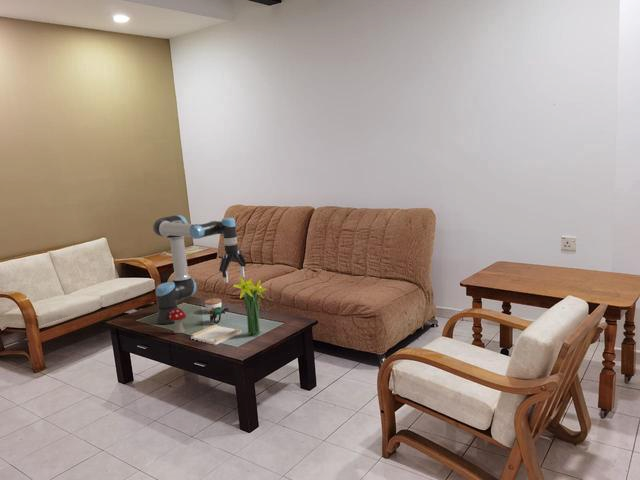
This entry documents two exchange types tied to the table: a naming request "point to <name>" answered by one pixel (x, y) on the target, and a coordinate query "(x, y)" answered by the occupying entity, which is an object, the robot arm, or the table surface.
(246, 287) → the daffodil flowers
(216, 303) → the lidded jar
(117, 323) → the table surface
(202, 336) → the display riser
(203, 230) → the robot arm
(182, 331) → the decorative mushroom
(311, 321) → the table surface
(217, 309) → the binoculars
